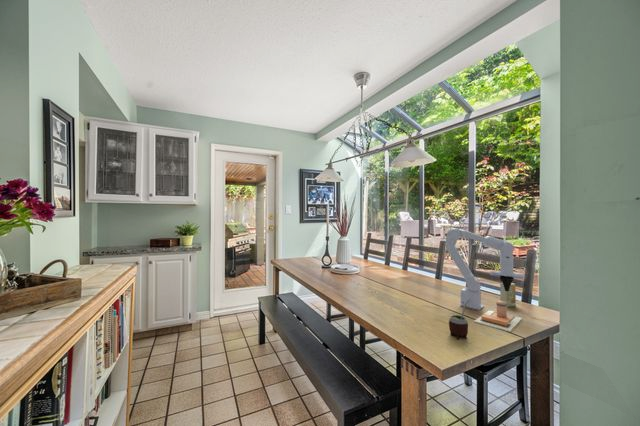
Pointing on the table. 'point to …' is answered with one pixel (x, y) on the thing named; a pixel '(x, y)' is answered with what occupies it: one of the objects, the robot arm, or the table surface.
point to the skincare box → (508, 295)
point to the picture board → (512, 324)
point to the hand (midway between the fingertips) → (507, 290)
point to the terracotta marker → (501, 309)
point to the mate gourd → (458, 325)
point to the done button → (495, 320)
